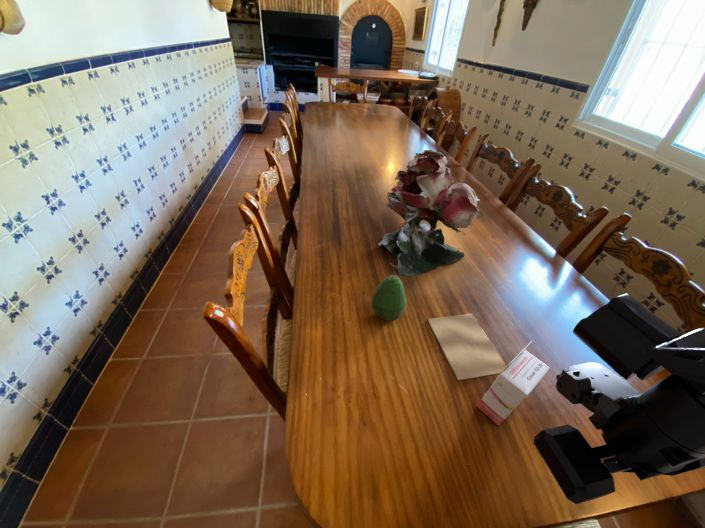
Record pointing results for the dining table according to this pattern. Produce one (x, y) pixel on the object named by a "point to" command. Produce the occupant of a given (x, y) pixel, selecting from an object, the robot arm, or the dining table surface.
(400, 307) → the avocado
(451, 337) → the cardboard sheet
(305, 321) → the dining table surface
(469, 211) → the rose bouquet
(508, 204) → the dining table surface
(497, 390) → the ink cartridge box
